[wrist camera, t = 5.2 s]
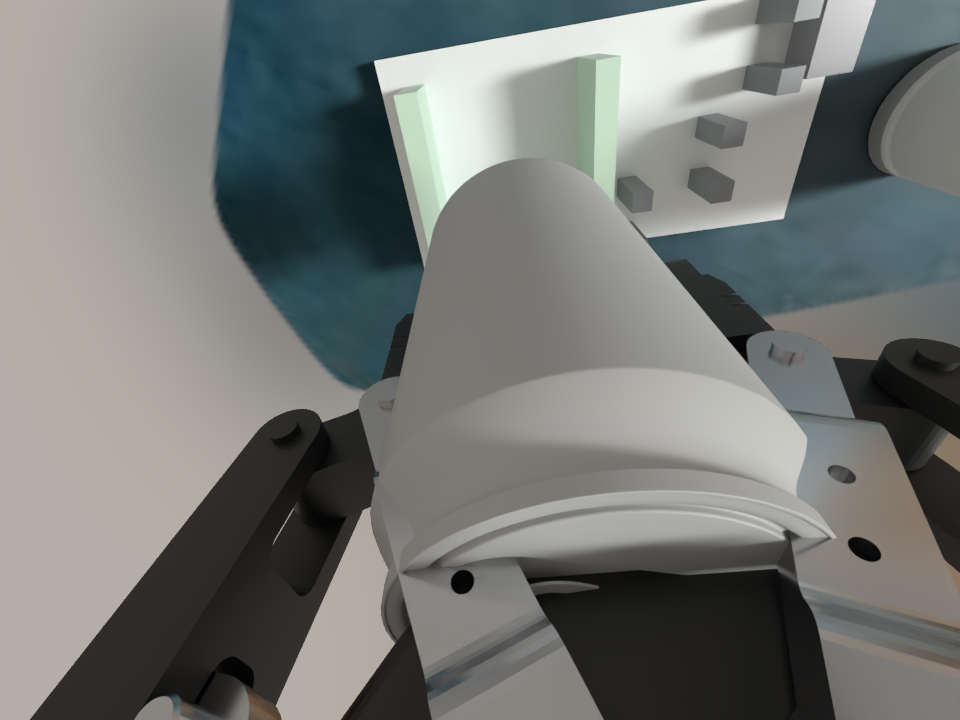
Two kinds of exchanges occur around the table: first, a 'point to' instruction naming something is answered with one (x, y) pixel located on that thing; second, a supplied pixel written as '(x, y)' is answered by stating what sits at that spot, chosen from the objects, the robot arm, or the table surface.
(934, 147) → the travel mug
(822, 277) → the table surface
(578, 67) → the end holder
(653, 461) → the beverage can
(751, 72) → the board
